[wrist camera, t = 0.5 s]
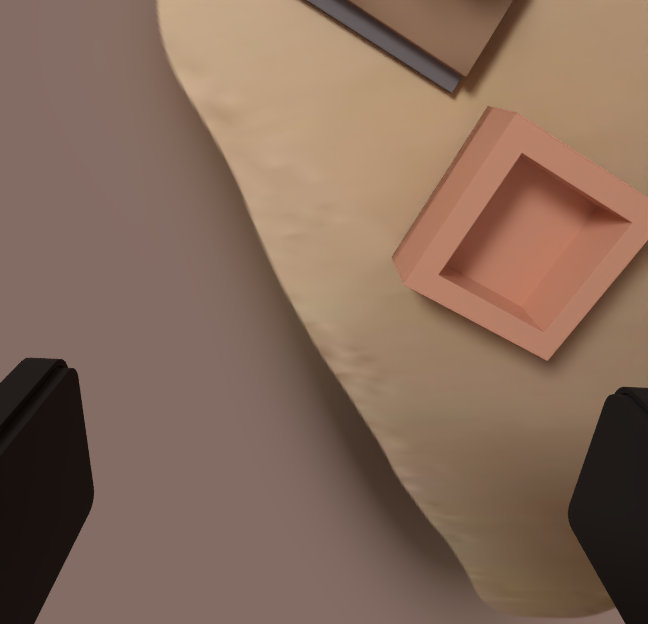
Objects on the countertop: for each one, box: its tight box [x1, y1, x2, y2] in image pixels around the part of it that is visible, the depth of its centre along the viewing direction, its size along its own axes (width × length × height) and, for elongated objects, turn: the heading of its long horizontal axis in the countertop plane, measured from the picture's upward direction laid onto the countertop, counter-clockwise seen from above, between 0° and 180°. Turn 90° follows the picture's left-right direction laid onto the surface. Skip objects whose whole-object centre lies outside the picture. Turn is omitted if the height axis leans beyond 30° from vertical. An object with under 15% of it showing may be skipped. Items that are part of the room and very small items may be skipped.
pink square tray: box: [392, 106, 648, 361], centre depth 33 cm, size 11×11×5 cm
